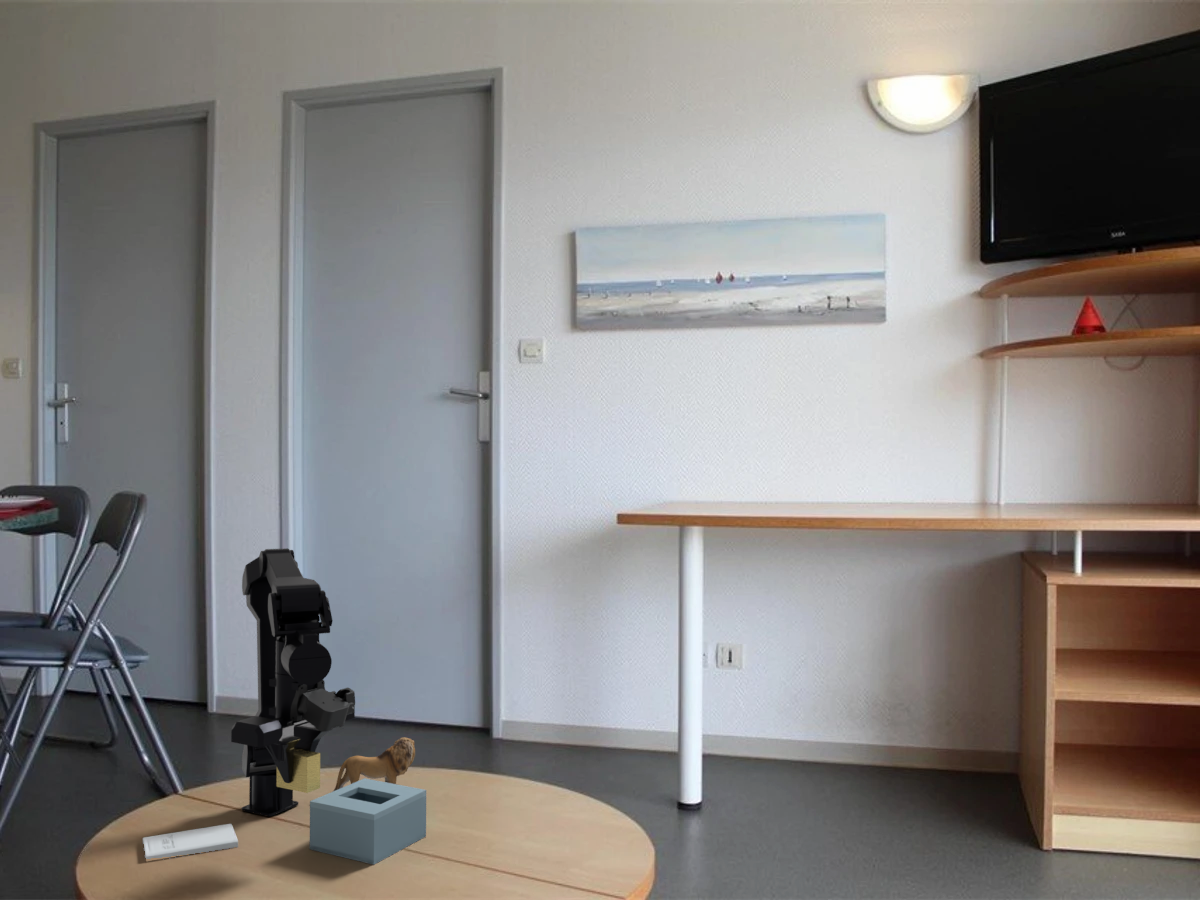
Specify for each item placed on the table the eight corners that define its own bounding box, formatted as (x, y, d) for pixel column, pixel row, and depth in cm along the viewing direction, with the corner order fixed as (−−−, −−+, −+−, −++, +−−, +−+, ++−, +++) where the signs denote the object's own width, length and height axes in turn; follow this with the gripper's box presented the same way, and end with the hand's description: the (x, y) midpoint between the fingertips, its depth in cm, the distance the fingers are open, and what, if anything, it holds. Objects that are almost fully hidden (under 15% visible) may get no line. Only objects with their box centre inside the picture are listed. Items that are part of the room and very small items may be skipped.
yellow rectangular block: (276, 786, 142) (276, 751, 142) (289, 781, 144) (289, 747, 144) (307, 793, 139) (307, 757, 139) (320, 788, 141) (320, 752, 141)
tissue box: (309, 849, 144) (309, 801, 145) (364, 823, 155) (364, 778, 155) (373, 864, 139) (374, 814, 139) (426, 836, 150) (426, 789, 150)
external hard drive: (238, 851, 145) (145, 866, 140) (230, 832, 153) (142, 846, 147) (238, 840, 145) (145, 854, 140) (231, 822, 153) (142, 835, 147)
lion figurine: (411, 783, 175) (411, 732, 175) (419, 793, 170) (419, 740, 170) (326, 795, 168) (326, 742, 168) (331, 805, 163) (332, 750, 164)
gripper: (287, 690, 130) (286, 809, 130) (383, 665, 147) (382, 771, 146) (229, 681, 135) (227, 795, 135) (327, 658, 152) (326, 760, 152)
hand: (295, 779), depth 142 cm, fingers closed on yellow rectangular block, 2 cm apart
